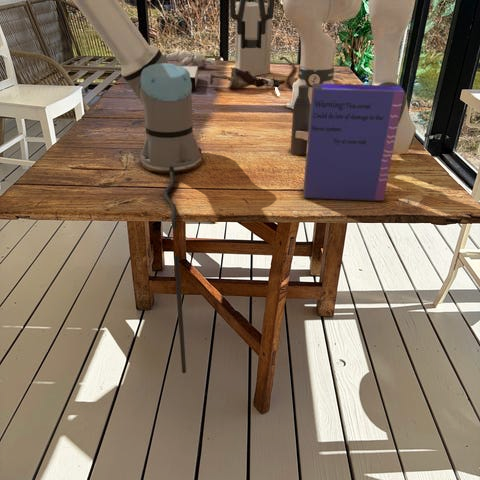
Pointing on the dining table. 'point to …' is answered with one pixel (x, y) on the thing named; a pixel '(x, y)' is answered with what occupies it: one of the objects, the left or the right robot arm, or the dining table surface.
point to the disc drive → (193, 75)
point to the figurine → (246, 79)
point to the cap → (251, 42)
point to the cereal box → (351, 141)
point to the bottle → (300, 120)
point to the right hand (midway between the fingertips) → (297, 130)
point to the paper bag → (253, 57)
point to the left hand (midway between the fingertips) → (250, 47)
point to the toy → (187, 58)
